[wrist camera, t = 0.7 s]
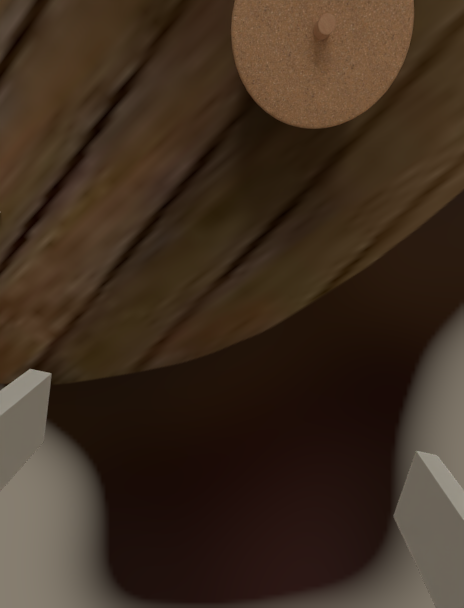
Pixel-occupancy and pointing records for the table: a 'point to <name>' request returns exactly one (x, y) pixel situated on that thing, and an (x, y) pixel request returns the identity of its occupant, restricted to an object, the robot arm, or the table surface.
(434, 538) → the robot arm
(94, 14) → the table surface
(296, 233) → the table surface
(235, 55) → the lidded jar
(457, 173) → the table surface
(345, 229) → the table surface
